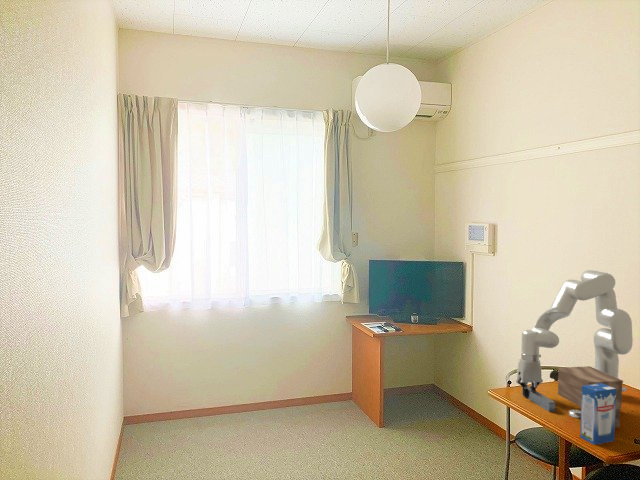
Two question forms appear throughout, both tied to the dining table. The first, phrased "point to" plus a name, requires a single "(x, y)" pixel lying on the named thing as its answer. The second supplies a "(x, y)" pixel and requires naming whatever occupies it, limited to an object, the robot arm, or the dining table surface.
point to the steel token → (575, 413)
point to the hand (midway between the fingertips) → (528, 395)
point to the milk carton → (598, 413)
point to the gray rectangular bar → (540, 400)
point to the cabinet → (580, 376)
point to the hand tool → (554, 375)
